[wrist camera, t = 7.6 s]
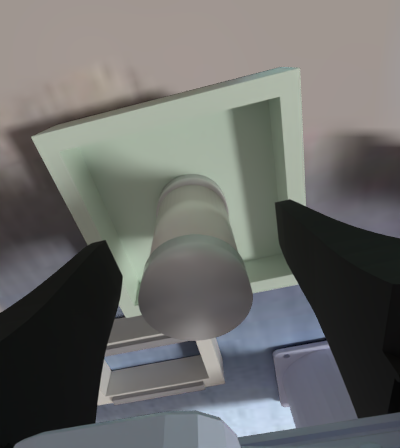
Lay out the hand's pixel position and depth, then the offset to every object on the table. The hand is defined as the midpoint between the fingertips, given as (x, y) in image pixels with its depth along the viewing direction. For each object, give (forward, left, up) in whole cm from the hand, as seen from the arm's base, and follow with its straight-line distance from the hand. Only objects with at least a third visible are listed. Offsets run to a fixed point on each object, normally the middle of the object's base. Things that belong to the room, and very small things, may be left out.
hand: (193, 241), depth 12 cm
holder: (+6, +11, -4) cm, 13 cm away
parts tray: (0, 0, -4) cm, 4 cm away
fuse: (0, 0, -4) cm, 4 cm away
